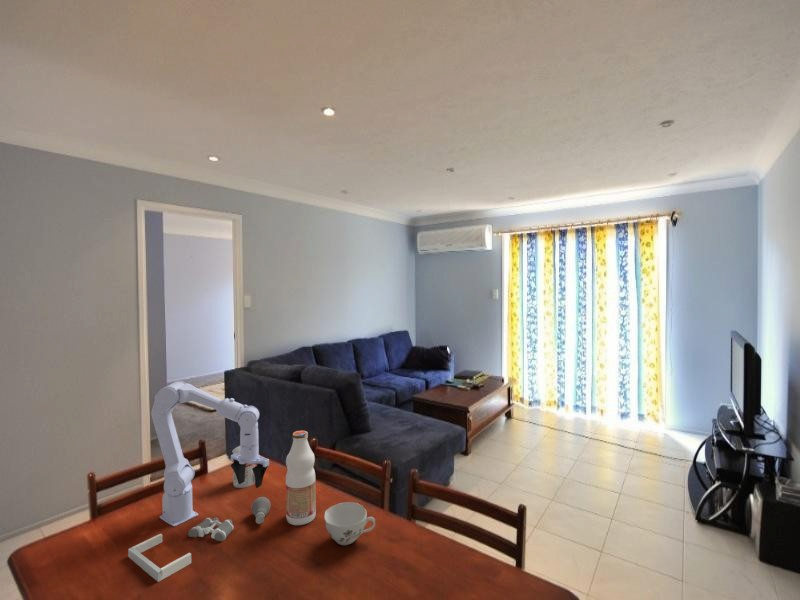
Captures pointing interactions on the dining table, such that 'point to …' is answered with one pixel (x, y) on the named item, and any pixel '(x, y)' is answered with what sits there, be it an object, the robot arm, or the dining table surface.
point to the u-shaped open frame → (150, 567)
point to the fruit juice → (300, 481)
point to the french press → (249, 475)
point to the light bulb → (260, 509)
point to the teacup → (347, 522)
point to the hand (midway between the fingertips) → (250, 484)
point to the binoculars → (208, 526)
